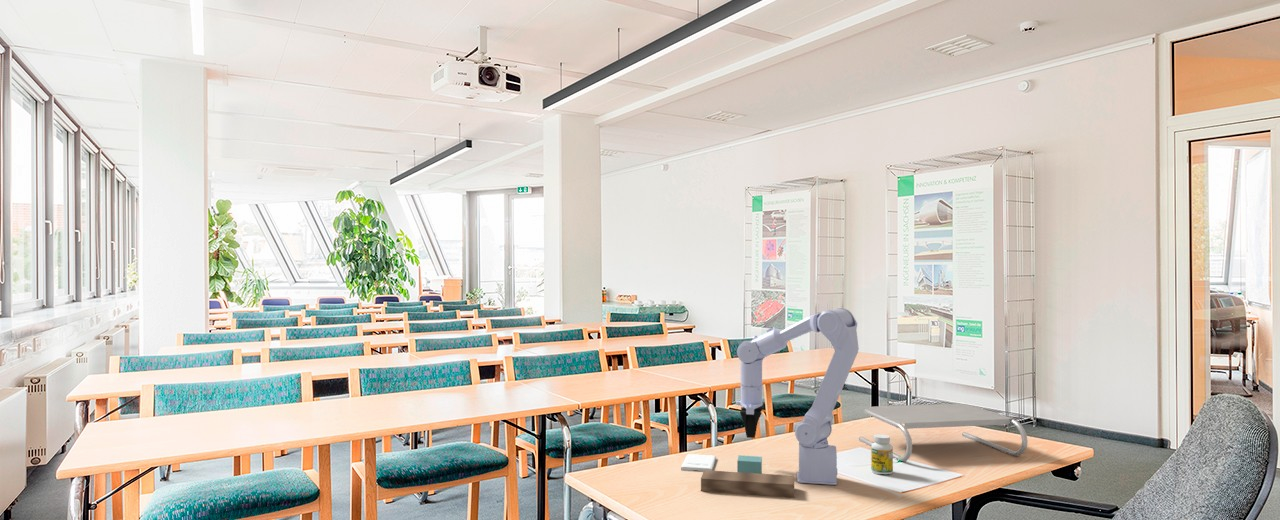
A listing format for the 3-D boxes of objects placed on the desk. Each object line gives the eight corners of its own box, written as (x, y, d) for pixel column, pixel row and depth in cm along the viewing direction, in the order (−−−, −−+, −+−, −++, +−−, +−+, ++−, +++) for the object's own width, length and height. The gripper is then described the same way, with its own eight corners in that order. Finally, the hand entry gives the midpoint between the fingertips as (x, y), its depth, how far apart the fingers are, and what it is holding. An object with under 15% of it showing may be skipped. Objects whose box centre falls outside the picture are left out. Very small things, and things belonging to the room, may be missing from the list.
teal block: (761, 473, 185) (761, 456, 185) (761, 479, 180) (761, 462, 180) (738, 472, 186) (738, 455, 186) (737, 478, 181) (737, 460, 181)
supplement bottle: (896, 472, 186) (896, 436, 186) (886, 477, 182) (887, 439, 182) (877, 468, 190) (877, 432, 190) (867, 472, 186) (867, 435, 186)
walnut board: (793, 488, 173) (793, 475, 173) (794, 497, 166) (794, 484, 166) (703, 482, 177) (704, 470, 177) (700, 490, 170) (700, 478, 170)
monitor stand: (965, 436, 226) (965, 402, 226) (1028, 461, 198) (1028, 422, 198) (858, 441, 219) (858, 406, 219) (908, 467, 192) (908, 427, 192)
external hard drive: (716, 461, 198) (711, 474, 185) (687, 459, 199) (680, 472, 187) (716, 455, 198) (711, 468, 185) (687, 453, 199) (680, 466, 187)
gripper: (737, 380, 198) (737, 428, 198) (734, 389, 184) (734, 441, 184) (763, 381, 197) (763, 430, 197) (762, 390, 182) (761, 443, 182)
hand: (751, 435), depth 190 cm, fingers open, 3 cm apart
